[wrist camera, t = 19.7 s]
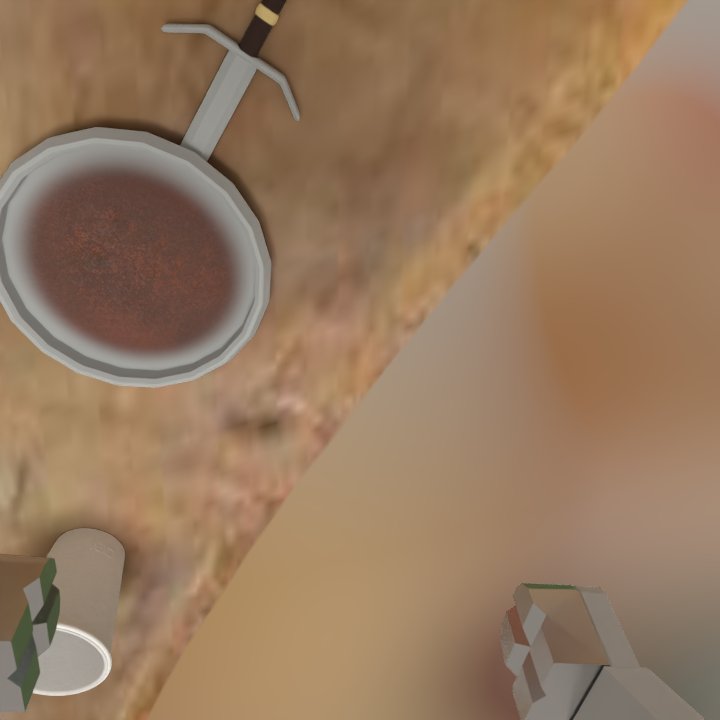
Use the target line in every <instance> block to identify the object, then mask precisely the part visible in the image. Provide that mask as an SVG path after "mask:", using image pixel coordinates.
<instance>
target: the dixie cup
mask: <svg viewBox="0 0 720 720" xmlns="http://www.w3.org/2000/svg"><path fill="white" fill-rule="evenodd" d="M46 557H47V558H54V559H55V563H56V569H57V573H56V576H55V578H54V581H53V583H52V584H53V585H55V586H56V587H57V588H58V589H59V591H60V614H59V618H58V623H57V627H56V631H55V634H54V637H53V640H52V643H51V645H50V647H49V648H48V649H47V650H46V651H45V652H43V653H42V654H41V655H40V656H39V657H38V661H39V667H40V675H39V677H38V680H37V682H36V685H35V688H34V690H33V693H36V694H42V695H52V696H61V695H71V694H77V693H81V692H84V691H87V690H89V689H91V688H93V687H95V686H97V685H98V684H100V683H101V682H102V681H103V680H104V679H105V678H106V677H107V676H108V674H109V672H110V670H111V665H112V659H111V655H110V654H111V647H112V640H113V634H114V627H115V620H116V614H117V607H118V600H119V594H120V587H121V580H122V573H123V567H124V560H125V551H124V548H123V546H122V544H121V543H120V542H119V541H118V540H117V539H116V538H115V537H113V536H112V535H110V534H108V533H106V532H104V531H101V530H97V529H91V528H78V529H73V530H70V531H67V532H65V533H63V534H62V535H61V536H60V537H59V538H58V539H57V540H56V542H55V544H54V545H53V547H52V548H51V550H50V552H49V553H48V555H47V556H46Z"/></svg>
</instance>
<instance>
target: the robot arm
mask: <svg viewBox="0 0 720 720" xmlns="http://www.w3.org/2000/svg"><path fill="white" fill-rule="evenodd" d="M56 573H57V569H56V563H55V559H54V558H47V557H35V556H22V555H10V554H0V712H25V711H26V708H27V706H28V703H29V701H30V698H31V695H32V693H33V690H34V688H35V685H36V682H37V680H38V677H39V675H40V667H39V661H38V657H39V656H40V655H41V654H42V653H43V652H45V651H46V650H47V649H48V648H49V647H50V645H51V643H52V640H53V637H54V634H55V631H56V627H57V623H58V618H59V614H60V591H59V589H58V588H57V587H56V586H55V585H53V584H52V583H53V581H54V578H55V576H56ZM513 597H514V601H515V604H516V606H514V607H513V608H511V609H510V610H508V611H507V612H506V614H505V617H504V620H503V623H502V630H501V645H502V652H503V656H504V660H505V664H506V666H507V667H508V668H509V669H510V670H511V671H512V672H513V673H514V674H515V675H516V676H517V678H516V680H515V683H514V685H513V687H512V690H513V693H514V697H515V701H516V705H517V708H518V712H519V715H520V719H521V720H705V719H704V718H703V717H702V716H701V715H699V714H698V713H697V712H696V711H695V710H694V709H693V708H692V707H690V706H689V705H688V704H687V703H686V702H685V701H684V700H683V699H682V698H681V697H679V696H678V695H677V694H676V693H675V692H674V691H673V690H672V689H670V688H669V687H668V686H667V685H666V684H665V683H664V682H663V681H662V680H660V679H659V678H658V677H657V676H656V675H655V674H654V673H652V672H651V671H650V670H649V669H648V668H640V666H639V664H638V662H637V660H636V658H635V656H634V653H633V651H632V649H631V647H630V645H629V642H628V640H627V638H626V636H625V634H624V632H623V630H622V628H621V625H620V623H619V621H618V619H617V617H616V614H615V612H614V610H613V608H612V606H611V604H610V602H609V599H608V597H607V595H606V593H605V592H604V591H603V590H602V589H601V588H600V587H586V586H571V585H557V584H532V583H531V584H530V583H521V584H520V585H519V586H518V587H517V588H516V590H515V593H514V595H513Z"/></svg>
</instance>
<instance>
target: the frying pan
mask: <svg viewBox="0 0 720 720" xmlns="http://www.w3.org/2000/svg"><path fill="white" fill-rule="evenodd" d="M285 2H286V0H263V1H262V2H261V3H259V5H258V6H257V8H256V10H255V16H254V18H253V20H252V22H251V24H250V26H249V28H248V30H247V31H246V33H245V35H244V37H243V39H242V41H241V43H240V45H239V44H238V43H237V42H235V41H234V40H232V39H231V38H229V37H228V36H226V35H225V34H223V33H222V32H220V31H219V30H217V29H216V28H214V27H213V26H212V25H209V24H173V23H167V24H165V25H164V26H162V28H161V29H162V30H163V31H164V32H172V33H205V34H206V35H208V36H209V37H211V38H212V39H214V40H215V41H217V42H218V43H220V44H221V45H223V46H224V47H226V48H227V49H229V51H228V53H227V55H226V57H225V59H224V61H223V63H222V65H221V67H220V69H219V71H218V73H217V74H216V76H215V78H214V80H213V82H212V84H211V86H210V88H209V90H208V92H207V94H206V96H205V98H204V100H203V102H202V104H201V106H200V108H199V110H198V111H197V113H196V115H195V117H194V119H193V121H192V123H191V125H190V127H189V129H188V131H187V133H186V135H185V137H184V139H183V141H182V143H181V145H180V146H179V145H177V144H174V143H172V142H170V141H167V140H165V139H163V138H160V137H158V136H155V135H153V134H151V133H148V132H144V131H133V130H123V129H113V128H102V127H93V128H89V129H85V130H80V131H76V132H71V133H67V134H62V135H58V136H53V137H49V138H48V139H46V140H45V141H43V142H42V143H40V144H39V145H37V146H36V147H34V148H33V149H31V150H30V151H28V152H27V153H25V154H24V155H22V156H21V157H19V158H18V159H16V160H15V161H13V162H12V163H11V165H10V166H9V168H8V169H7V171H6V172H5V174H4V175H3V177H2V178H1V180H0V301H1V303H2V305H3V307H4V309H5V310H6V312H7V314H8V316H9V317H10V319H11V321H12V322H13V323H14V324H15V325H16V326H17V327H18V328H19V329H20V330H21V331H22V332H23V333H24V334H25V335H26V336H27V337H28V338H29V339H30V340H31V341H32V342H33V343H34V344H35V345H36V346H37V347H38V348H39V349H40V350H41V351H42V352H44V353H45V354H47V355H49V356H50V357H52V358H54V359H55V360H57V361H59V362H60V363H62V364H64V365H65V366H67V367H69V368H70V369H72V370H74V371H75V372H77V373H79V374H83V375H86V376H89V377H92V378H95V379H99V380H102V381H105V382H108V383H111V384H115V385H121V386H138V387H154V388H157V387H162V386H167V385H172V384H177V383H182V382H186V381H191V380H195V379H197V378H199V377H201V376H203V375H205V374H207V373H209V372H211V371H212V370H214V369H216V368H218V367H220V366H222V365H224V364H226V363H227V362H229V361H231V360H232V359H233V358H234V356H235V355H236V354H237V353H238V352H239V351H240V350H241V349H242V348H243V347H244V346H245V345H246V344H247V343H248V342H249V341H250V340H251V338H252V337H253V336H254V335H255V334H256V331H257V329H258V327H259V324H260V322H261V320H262V317H263V315H264V313H265V310H266V308H267V306H268V303H269V299H270V279H271V260H270V256H269V253H268V250H267V246H266V243H265V239H264V236H263V233H262V229H261V226H260V222H259V221H258V219H257V218H256V216H255V215H254V213H253V212H252V210H251V209H250V207H249V206H248V205H247V203H246V202H245V200H244V199H243V197H242V196H241V194H240V193H239V191H238V190H237V188H236V187H235V185H234V184H233V183H232V182H231V181H229V180H228V179H227V178H226V177H225V176H223V175H222V174H221V173H220V172H218V171H217V170H216V169H215V168H213V167H212V166H211V165H210V164H209V163H207V161H208V159H209V157H210V155H211V153H212V152H213V150H214V148H215V146H216V144H217V142H218V140H219V139H220V137H221V135H222V133H223V131H224V129H225V127H226V126H227V124H228V122H229V120H230V118H231V116H232V115H233V113H234V111H235V109H236V107H237V105H238V103H239V102H240V100H241V98H242V96H243V94H244V92H245V90H246V89H247V87H248V85H249V83H250V81H251V79H252V77H253V76H254V74H255V72H256V70H257V69H258V70H260V71H261V72H263V73H264V74H266V75H267V76H269V77H270V78H272V79H273V80H275V81H276V82H278V83H279V84H280V85H281V87H282V90H283V92H284V95H285V97H286V99H287V102H288V104H289V107H290V109H291V112H292V114H293V117H294V119H295V120H297V121H299V119H300V112H299V110H298V107H297V105H296V102H295V100H294V97H293V95H292V92H291V90H290V87H289V85H288V82H287V80H286V77H285V76H284V74H282V73H281V72H279V71H278V70H276V69H275V68H273V67H272V66H270V65H269V64H267V63H266V62H264V61H263V60H261V59H260V58H259V57H257V54H258V52H259V50H260V48H261V46H262V45H263V43H264V41H265V39H266V37H267V35H268V33H269V31H270V30H271V28H272V26H274V25H275V24H276V23H277V21H278V18H279V13H280V11H281V9H282V7H283V5H284V3H285Z"/></svg>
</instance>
